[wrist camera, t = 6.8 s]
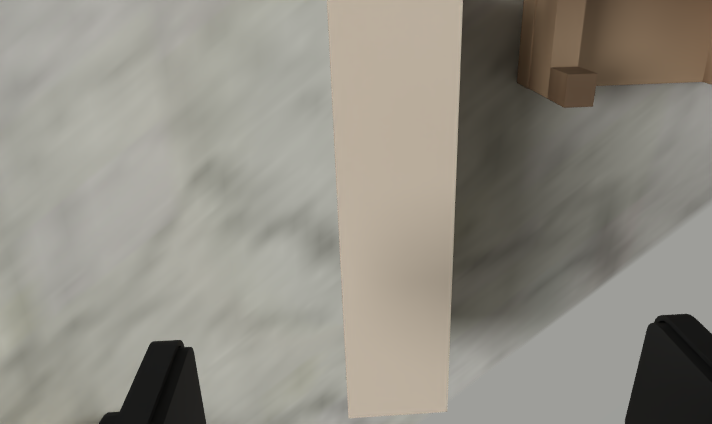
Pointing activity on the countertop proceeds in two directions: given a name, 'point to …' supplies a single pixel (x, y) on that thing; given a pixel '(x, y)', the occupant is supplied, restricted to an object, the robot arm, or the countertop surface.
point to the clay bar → (396, 196)
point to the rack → (612, 45)
